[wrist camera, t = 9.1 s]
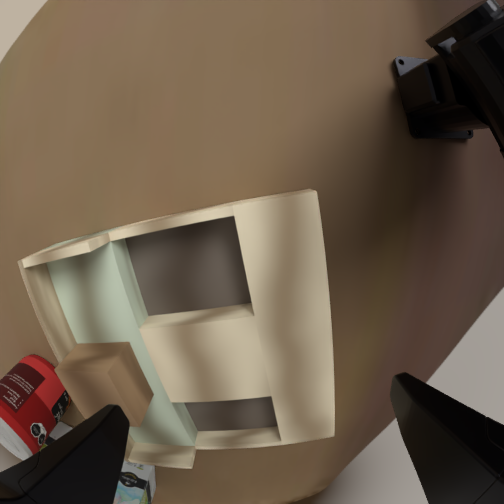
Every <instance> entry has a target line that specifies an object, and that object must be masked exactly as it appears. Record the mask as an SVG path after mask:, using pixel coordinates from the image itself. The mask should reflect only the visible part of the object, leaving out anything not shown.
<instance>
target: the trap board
mask: <svg viewBox="0 0 504 504" xmlns="http://www.w3.org/2000/svg"><path fill="white" fill-rule="evenodd" d="M18 265H19V268H20V271H21V274H22V277H23V280H24V283H25V286H26V289H27V292H28V294H29V297H30V300H31V302H32V305H33V308H34V310H35V313H36V315H37V317H38V320H39V322H40V324H41V327H42V329H43V331H44V333H45V336H46V338H47V340H48V342H49V344H50V346H51V348H52V350H53V352H54V354H55V356H56V358H57V360H58V362H59V364H60V363H61V361H62V360H63V359H64V358H65V357H66V356H67V355H68V354H69V353H70V352H71V350H72V349H73V348H74V347H75V346H76V345H77V344H78V343H109V342H130V345H131V347H132V349H133V351H134V354H135V356H136V358H137V360H138V362H139V365H140V367H141V369H142V371H143V373H144V375H145V377H146V379H147V381H148V383H149V385H150V387H151V389H152V391H153V393H154V396H153V398H152V400H151V402H150V405H149V407H148V409H147V412H146V414H145V416H144V419H143V421H142V423H141V426H140V427H131V426H130V428H129V434H128V440H127V446H126V452H125V458H124V460H125V461H126V462H132V463H138V464H145V465H153V466H162V467H173V468H188V469H192V468H193V463H194V458H195V454H196V449H240V448H255V447H267V446H276V445H285V444H292V443H299V442H306V441H312V440H317V439H323V438H328V437H333V436H334V430H335V401H334V362H333V341H332V325H331V311H330V298H329V287H328V276H327V266H326V257H325V248H324V240H323V232H322V224H321V217H320V210H319V203H318V196H317V191H315V190H312V189H306V190H300V191H293V192H287V193H281V194H275V195H269V196H263V197H258V198H252V199H247V200H241V201H236V202H230V203H225V204H220V205H215V206H210V207H205V208H200V209H195V210H191V211H186V212H181V213H177V214H172V215H167V216H163V217H159V218H154V219H150V220H146V221H141V222H137V223H133V224H129V225H125V226H121V227H117V228H113V229H109V230H105V231H101V232H97V233H93V234H90V235H86V236H82V237H78V238H75V239H71V240H68V241H64V242H61V243H57V244H54V245H52V246H50V247H47V248H45V249H43V250H41V251H38V252H36V253H34V254H32V255H30V256H28V257H25V258H23V259H21V260H19V261H18Z"/></svg>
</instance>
